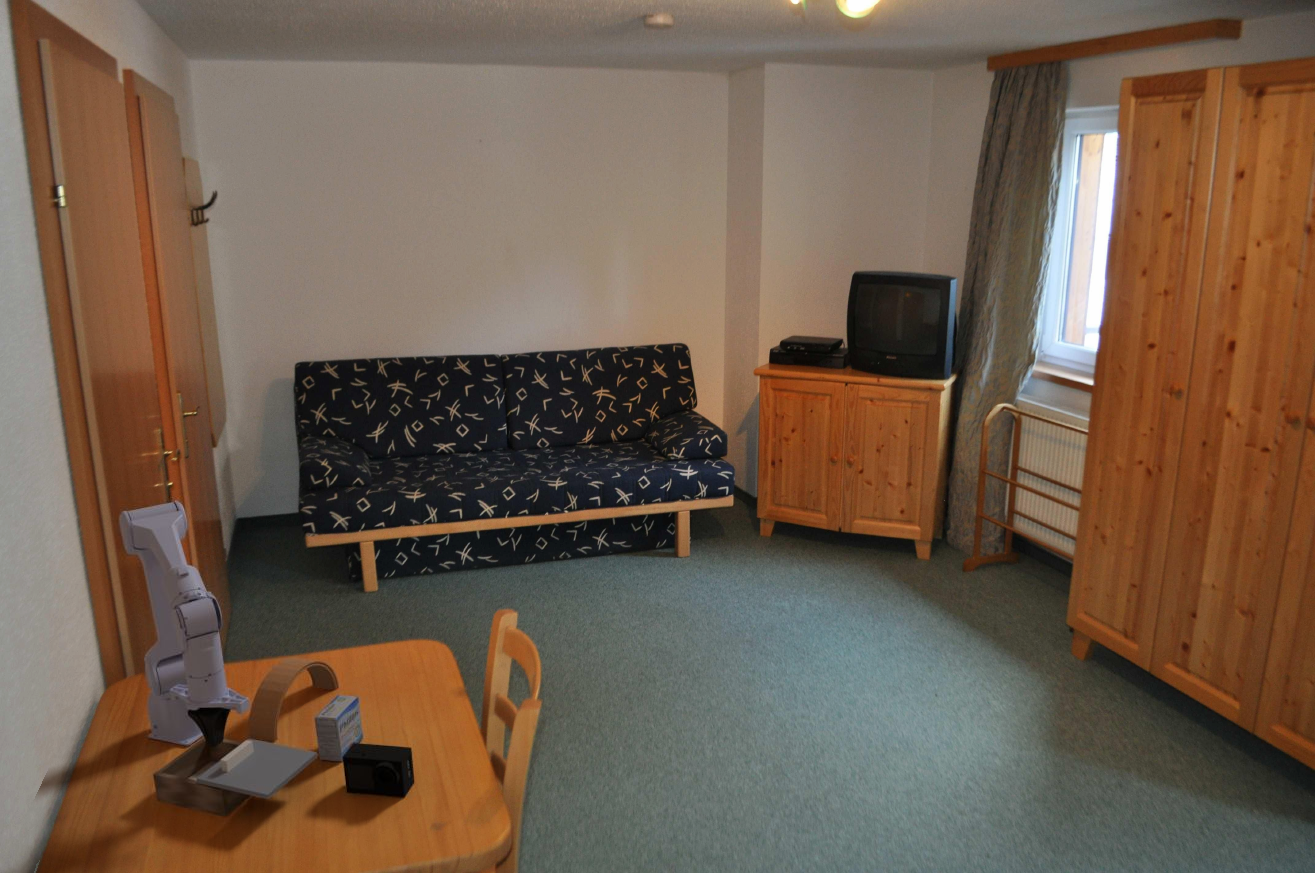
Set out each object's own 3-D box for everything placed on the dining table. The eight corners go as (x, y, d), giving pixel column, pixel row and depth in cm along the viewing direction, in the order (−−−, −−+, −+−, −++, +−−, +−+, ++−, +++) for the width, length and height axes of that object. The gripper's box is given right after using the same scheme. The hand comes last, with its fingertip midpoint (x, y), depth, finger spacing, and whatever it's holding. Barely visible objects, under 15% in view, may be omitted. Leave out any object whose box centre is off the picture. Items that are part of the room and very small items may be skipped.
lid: (197, 782, 156) (194, 767, 156) (249, 742, 167) (247, 728, 167) (268, 798, 152) (266, 783, 151) (317, 756, 163) (315, 741, 162)
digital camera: (342, 797, 161) (338, 760, 159) (357, 777, 166) (353, 741, 164) (401, 802, 159) (398, 765, 157) (414, 782, 164) (411, 746, 163)
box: (157, 800, 161) (152, 774, 159) (211, 760, 172) (207, 735, 170) (225, 816, 156) (221, 789, 155) (276, 774, 167) (273, 748, 166)
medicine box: (342, 762, 170) (337, 719, 168) (318, 760, 171) (313, 716, 169) (363, 738, 178) (359, 695, 175) (341, 735, 179) (336, 693, 176)
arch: (248, 737, 179) (241, 689, 176) (315, 684, 197) (310, 639, 194) (274, 742, 177) (268, 693, 174) (340, 688, 195) (334, 643, 193)
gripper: (150, 674, 156) (162, 748, 160) (222, 688, 152) (233, 764, 155) (183, 654, 163) (195, 725, 166) (254, 667, 158) (264, 740, 162)
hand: (215, 742), depth 161 cm, fingers closed
